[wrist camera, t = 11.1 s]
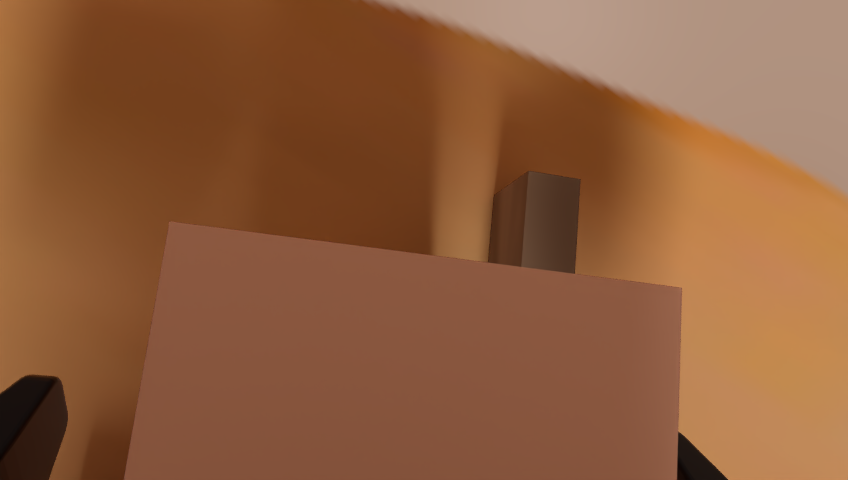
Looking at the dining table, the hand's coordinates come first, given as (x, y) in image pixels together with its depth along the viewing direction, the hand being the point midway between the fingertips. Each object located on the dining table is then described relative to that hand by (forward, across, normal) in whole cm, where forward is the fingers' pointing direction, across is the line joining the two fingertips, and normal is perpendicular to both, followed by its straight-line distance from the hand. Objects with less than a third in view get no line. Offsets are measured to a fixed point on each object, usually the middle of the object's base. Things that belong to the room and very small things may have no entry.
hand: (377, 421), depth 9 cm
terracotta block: (+5, 0, +6) cm, 8 cm away
